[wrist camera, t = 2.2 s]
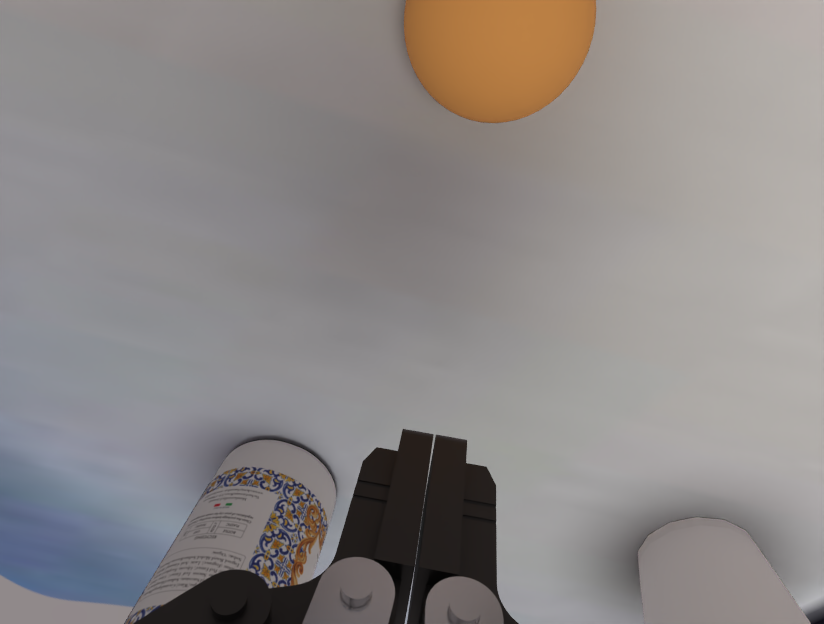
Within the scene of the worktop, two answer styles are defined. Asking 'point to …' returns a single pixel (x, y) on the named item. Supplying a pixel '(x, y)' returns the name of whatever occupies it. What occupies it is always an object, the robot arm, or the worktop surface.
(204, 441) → the worktop surface
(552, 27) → the ball
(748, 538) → the foam cup
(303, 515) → the bath foam
